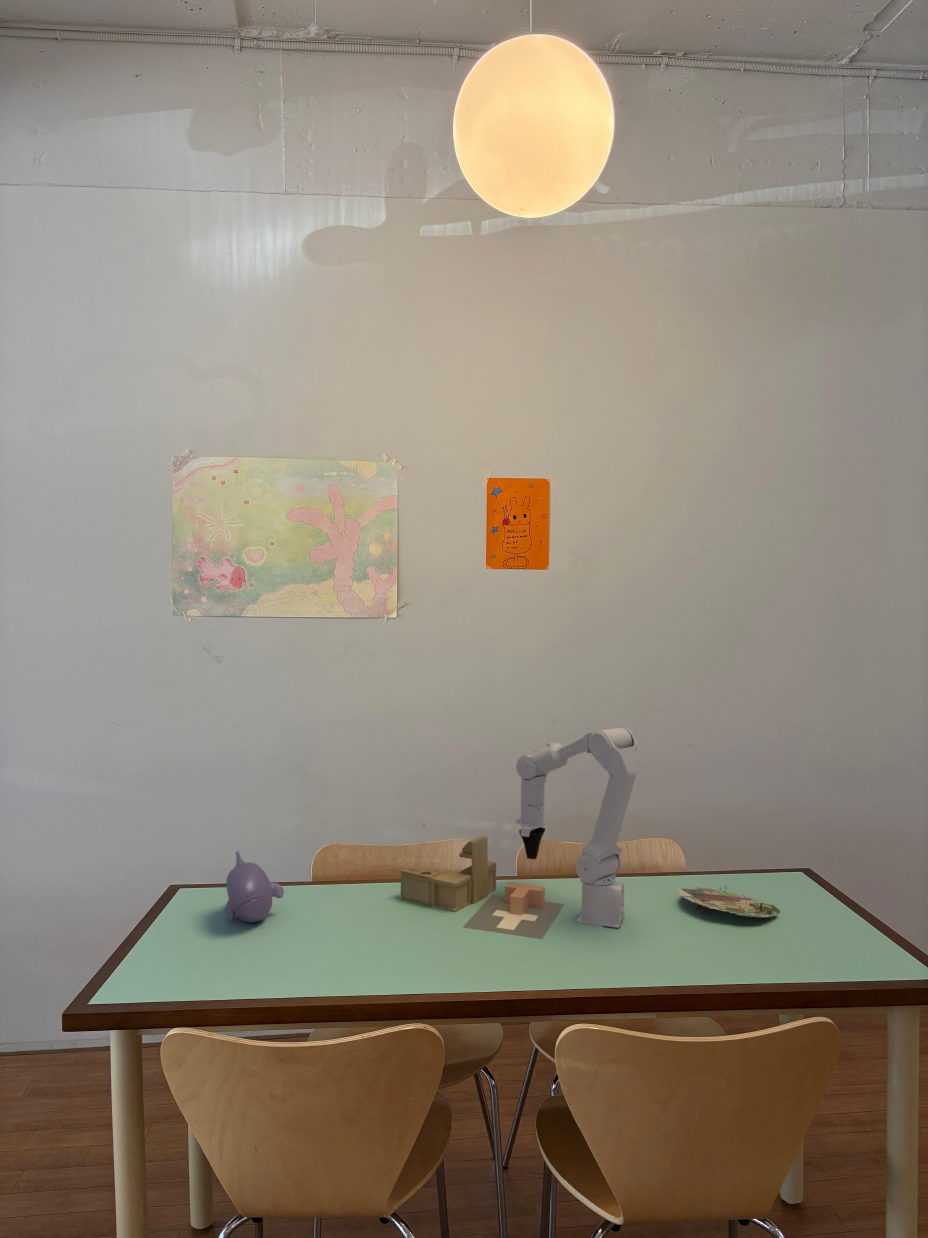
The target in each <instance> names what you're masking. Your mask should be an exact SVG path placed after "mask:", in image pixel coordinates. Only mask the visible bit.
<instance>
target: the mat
mask: <svg viewBox="0 0 928 1238" xmlns="http://www.w3.org/2000/svg"><path fill="white" fill-rule="evenodd" d="M564 906H565V903H560V902H552V901H546V900H545V904H544V905H543V907H542V908H538V907H531V906H529V907H528V908H527V910H526V911H525V912H524V914H523V915H518V914H510V904H508V903H505V895H498V894H492V895H491V896H489V898H487V900H486V901H485V902H484V903H483V904H482V905H481V906H480V907H479V909H477V910H476V912H475V913H474V914H473V915H472V916H471V918H470V919H469V920H468V921H467V922H466V923H465V924H464V925H463V926H462V928H465V929H470V930H477V931H485V932H490V933H496V934H497V933H499V934H505V935H514V936H519V937H526V938H531V939H532V938H533V939H538V940H539V939H540V940H542V939H544V937H545V936H546V934H547V933H548V931H549V929H550V927H551V926H552V924H553V923H554V921H555V920H556V919H557V917H558V915H559V914H560V912H561V910H562V909H563V907H564Z"/></svg>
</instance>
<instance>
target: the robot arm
mask: <svg viewBox="0 0 928 1238" xmlns="http://www.w3.org/2000/svg"><path fill="white" fill-rule="evenodd" d="M637 747H638V742H637V740H636V738H635V735H634V734H633V733H632V731H631V730H630V729H629V728H628V727H625V726H618V727H615V728H609V729H596V730H594V731H592V732H587V733H583V734H581V735H580V736H578V737H576V738H574V739H572V740H571V741H569V742H567V743H565V744H563V745H562V744H560V743H559V742H558V743H556V742H549V743H546V747H544V748H542V749H535V750H533V751H532V752H533V753H532V754H522V755H521V756H520V757H519V758H517V761H516V765H515V766H516V767H515V768H516V772H517V774H518V775H519V777H520V779H521V780H520V818H517V819H516V820H515V823H516V824H519V825H520V829H519V831H518V833H519V836H520V837H521V839H522V842H523V844H524V849H525V854H526V858H527V860H528V859H529V860H536V859H537V858H538V854H539V849H540V844H541V841H542V837H543V835H544V833H545V832H546V828H545V827H544V826H545V824H546V821H545V784H546V782H547V776H548V774H549V773H550V772H553V771H556V770H558V769H560V768H563V767H566V765H567V764H568V761H569V759H570V758H573V757H575V756H577V755H581V754H583V753H587V754H591V756H592V757H594V759H595V760H596V761H597V762H598V764H599V765H600V766H601V767H602V768H603V770H605V771H606V772H607V773H608V775H609V778H608V780H607V783H606V788H605V792H604V795H603V798H602V802H601V806H600V810H599V813H598V817H597V821H596V824H595V827H594V831H593V835H592V838H590V840H589V841H588V842H587V843H586V844H585V845H584V846H583V848H582V852H581V853H580V855H578V857H577V858H576V859H575V872H576V874H577V876H578V877H579V879H580V882H581V913H580V915H579V916H578V917H577V920H576V922H577V923H581V924H589V925H595V926H596V925H597V926H602V927H609V928H615V929H616V928H617V929H619V928H620V927H621V925H622V923H623V920H624V918H625V884H624V883H622V882H618V881H616V879H617V878H616V877H617V874H618V873H619V872H620V870H621V868H622V860H621V853H622V848H621V846H620V845H619V844H618V841H619V840H618V839H619V837H620V832H621V831H622V830H621V829H622V826H623V822H624V819H625V815H626V812H627V808H628V806H629V805H628V804H629V801H630V798H631V795H632V791H633V788H634V784H635V780H636V776H637V764H636V763H637V762H636V751H637Z"/></svg>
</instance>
